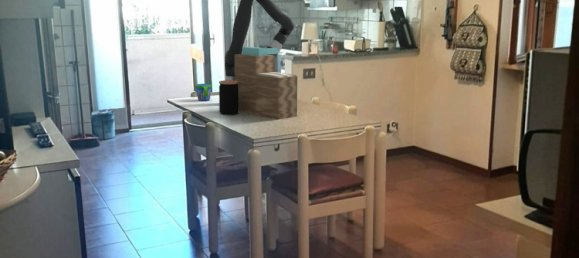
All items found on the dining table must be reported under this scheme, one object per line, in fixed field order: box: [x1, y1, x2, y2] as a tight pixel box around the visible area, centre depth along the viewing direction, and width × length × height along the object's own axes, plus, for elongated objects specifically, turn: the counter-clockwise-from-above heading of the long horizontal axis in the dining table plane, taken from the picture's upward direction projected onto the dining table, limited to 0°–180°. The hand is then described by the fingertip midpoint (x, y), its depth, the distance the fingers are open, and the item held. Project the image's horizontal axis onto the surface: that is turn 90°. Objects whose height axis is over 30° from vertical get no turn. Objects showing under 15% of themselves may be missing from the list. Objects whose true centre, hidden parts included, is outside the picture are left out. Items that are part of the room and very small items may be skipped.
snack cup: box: [194, 83, 213, 102], centre depth 358 cm, size 16×10×10 cm
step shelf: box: [235, 54, 298, 120], centre depth 313 cm, size 14×36×32 cm, turn 45°
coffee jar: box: [218, 79, 240, 116], centre depth 313 cm, size 11×11×18 cm
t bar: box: [242, 46, 279, 56], centre depth 320 cm, size 19×14×4 cm
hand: (258, 71), depth 333 cm, fingers open, 8 cm apart
